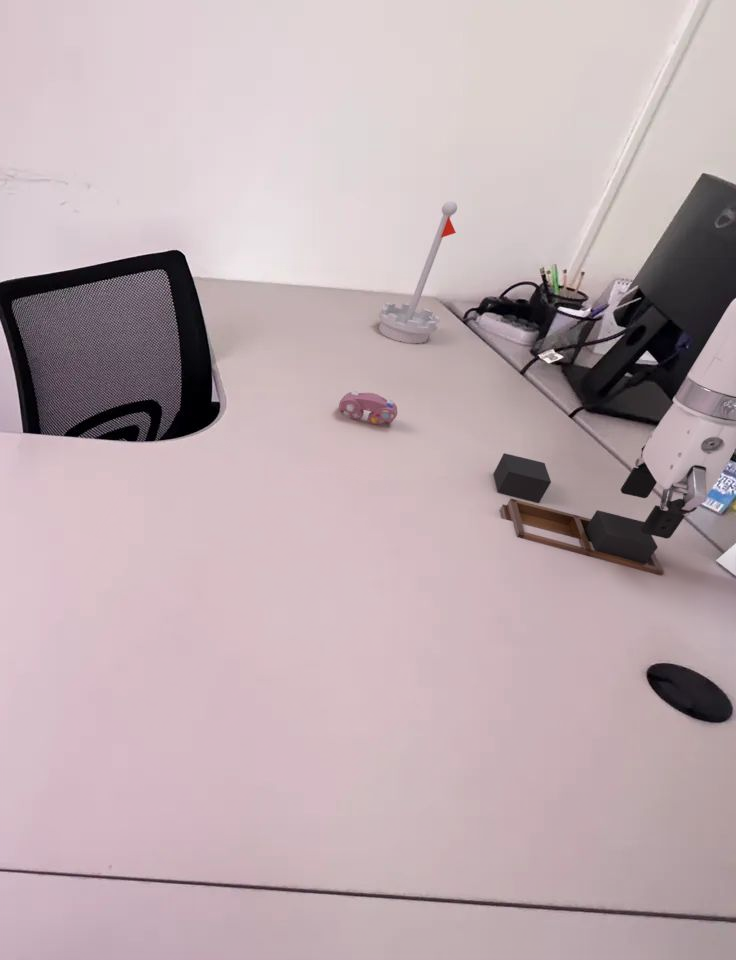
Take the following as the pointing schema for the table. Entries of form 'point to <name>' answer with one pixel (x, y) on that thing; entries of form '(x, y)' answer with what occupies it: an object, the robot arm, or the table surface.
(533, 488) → the black pad
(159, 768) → the table surface
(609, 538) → the black pad
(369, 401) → the video game controller
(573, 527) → the brown wooden frame
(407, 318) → the flag stand
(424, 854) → the table surface
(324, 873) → the table surface
